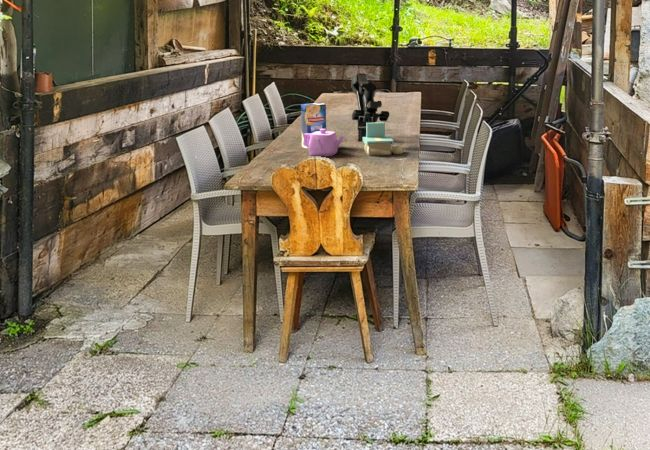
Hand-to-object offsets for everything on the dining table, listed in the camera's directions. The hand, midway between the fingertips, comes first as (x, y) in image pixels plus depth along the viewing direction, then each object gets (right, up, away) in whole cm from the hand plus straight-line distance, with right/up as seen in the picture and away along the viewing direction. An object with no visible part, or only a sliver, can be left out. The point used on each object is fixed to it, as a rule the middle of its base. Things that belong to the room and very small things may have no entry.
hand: (372, 129), depth 431 cm
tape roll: (+12, -13, -14) cm, 22 cm away
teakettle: (-25, -14, -13) cm, 31 cm away
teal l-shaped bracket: (+2, -8, -14) cm, 17 cm away
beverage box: (-30, -8, +8) cm, 32 cm away
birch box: (+2, -13, -13) cm, 18 cm away
